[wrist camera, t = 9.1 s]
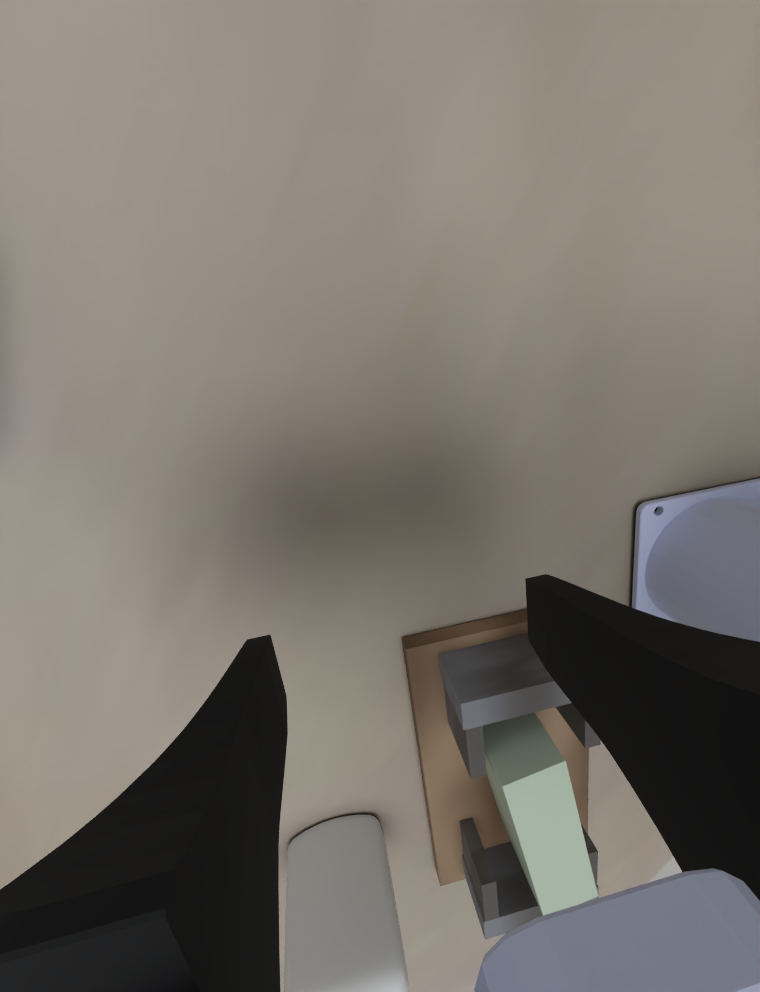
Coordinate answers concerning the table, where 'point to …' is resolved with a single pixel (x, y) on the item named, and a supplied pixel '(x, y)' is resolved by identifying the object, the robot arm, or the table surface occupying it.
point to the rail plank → (539, 811)
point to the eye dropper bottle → (342, 911)
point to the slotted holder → (461, 754)
